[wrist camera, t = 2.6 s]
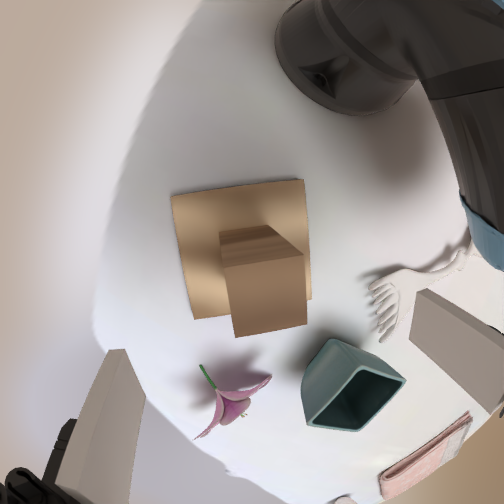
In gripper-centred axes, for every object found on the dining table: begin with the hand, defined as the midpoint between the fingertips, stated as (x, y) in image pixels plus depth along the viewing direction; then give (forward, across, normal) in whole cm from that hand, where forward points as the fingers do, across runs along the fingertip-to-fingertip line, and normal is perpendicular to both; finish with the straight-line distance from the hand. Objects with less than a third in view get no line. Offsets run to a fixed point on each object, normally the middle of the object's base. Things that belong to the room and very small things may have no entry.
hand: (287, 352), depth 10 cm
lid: (+16, 0, 0) cm, 16 cm away
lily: (+17, -4, -16) cm, 24 cm away
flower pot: (+17, +9, -16) cm, 25 cm away
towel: (+17, +49, -81) cm, 96 cm away
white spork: (+17, +29, -5) cm, 34 cm away
